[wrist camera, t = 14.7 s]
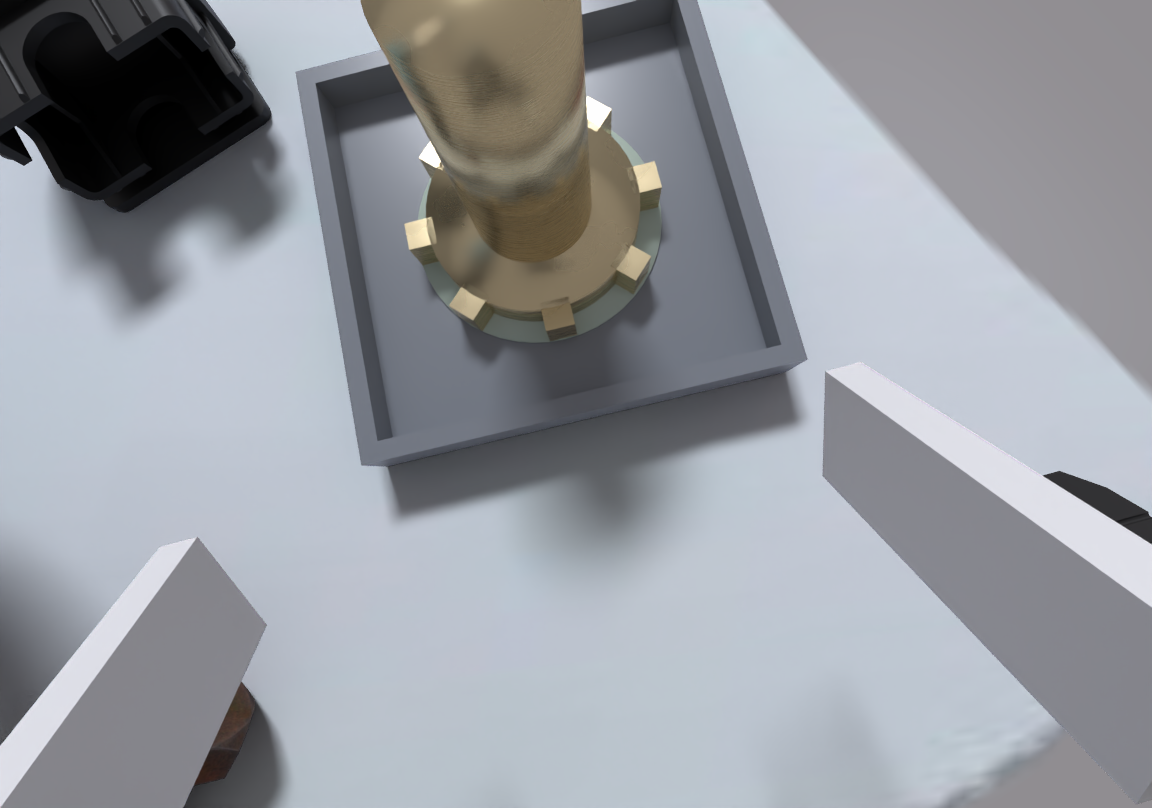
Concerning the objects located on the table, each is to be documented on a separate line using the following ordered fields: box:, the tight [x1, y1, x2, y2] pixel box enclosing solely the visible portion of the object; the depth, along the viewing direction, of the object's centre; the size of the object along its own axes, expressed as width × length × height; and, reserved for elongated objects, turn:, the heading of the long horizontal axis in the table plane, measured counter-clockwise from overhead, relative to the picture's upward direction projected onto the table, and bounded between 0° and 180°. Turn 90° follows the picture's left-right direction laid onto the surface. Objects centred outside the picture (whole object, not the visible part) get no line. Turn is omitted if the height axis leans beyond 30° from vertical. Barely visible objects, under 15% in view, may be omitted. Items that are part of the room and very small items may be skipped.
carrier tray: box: [296, 0, 807, 467], centre depth 23 cm, size 18×18×2 cm
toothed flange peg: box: [361, 0, 662, 341], centre depth 17 cm, size 11×11×12 cm
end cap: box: [0, 0, 271, 212], centre depth 23 cm, size 10×7×7 cm
